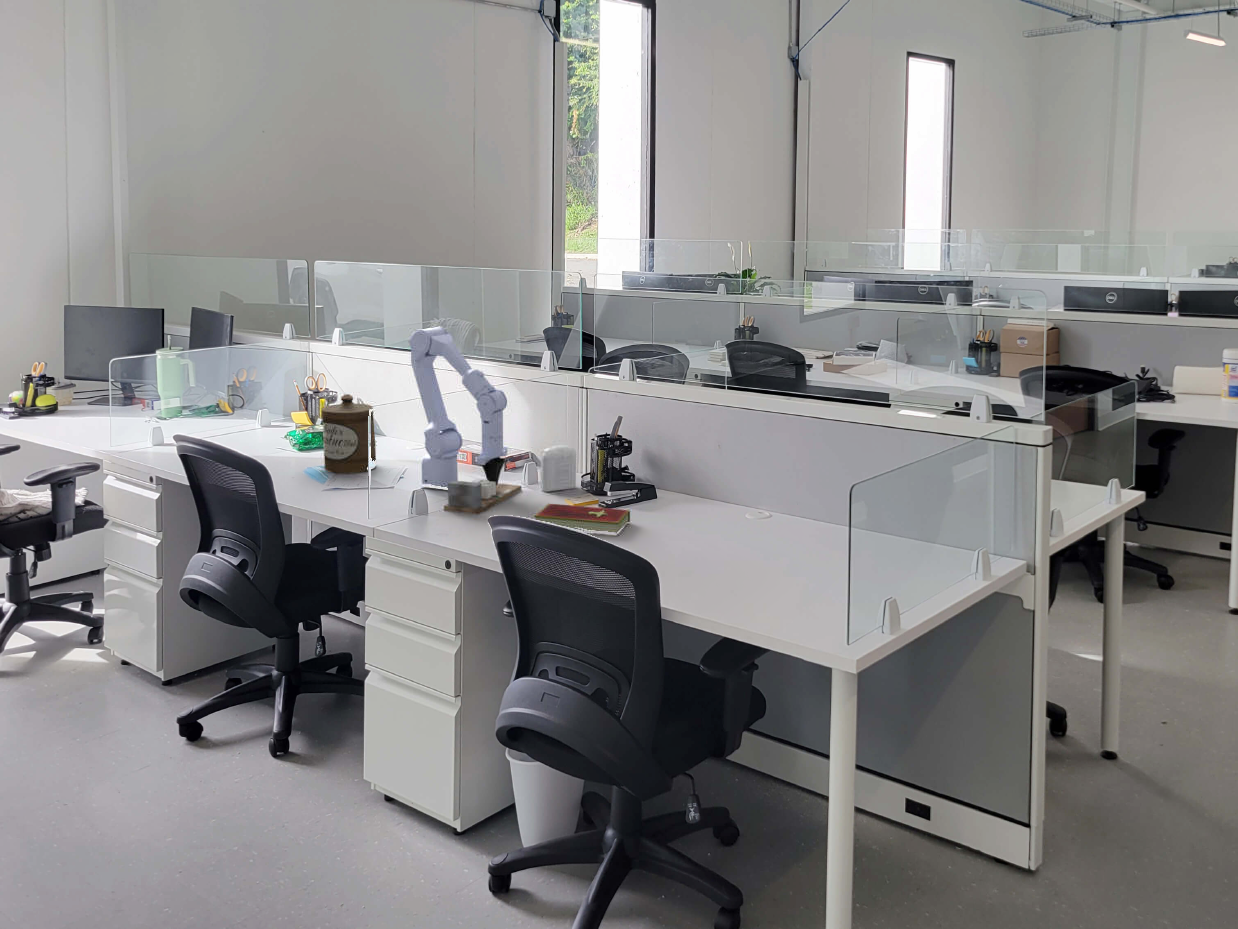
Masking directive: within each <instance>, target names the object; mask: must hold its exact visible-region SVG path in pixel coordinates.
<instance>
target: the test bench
mask: <svg viewBox="0 0 1238 929" xmlns="http://www.w3.org/2000/svg"><path fill="white" fill-rule="evenodd" d="M521 491H522V485H519V484H518V485H517V484H506V483H499V482H498V484H497V485H496V496H498V497H494V496H492V497H491V498H489V499H482V493H481V483H473V482H472V481H464V480H458V481H455V480H453V481H451V482H449V483H448V491H447V502H448V503H447V504H445V505H443V510H444V511H448V512H454V513H455V512H456V513H465V514H471V515H474V514H475V515H481V514H482V513H484V512H485V511H488V510H489V509H491V508H492V507H495V506H496V505H498V504H500V503H502V502H503V501H506V500H507V499H508V498H510V497H512V496H514V495H516V494H517V493H519V492H521Z"/></svg>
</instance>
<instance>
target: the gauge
mask: <svg viewBox="0 0 1238 929" xmlns="http://www.w3.org/2000/svg"><path fill="white" fill-rule="evenodd" d="M471 482H473V483H481V493H482V499H489V498H491V497H492V496H494V497H498V496H496V482H492V481H489V480H487V479H485V478H482V479H481V478H479V479H474V480H472V481H471Z"/></svg>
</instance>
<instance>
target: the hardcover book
mask: <svg viewBox="0 0 1238 929" xmlns="http://www.w3.org/2000/svg"><path fill="white" fill-rule="evenodd" d="M534 518H536V520H540V521H545V522H550V523H554V524H557V525H561V526H566V527H570V528H574V529H578V527H579V528H583V529H587V530H595V531H608V532H615V533H617V532H618V531H619V530H620V529H621V528H622V527H623V526H624V525H625V524H626V523H627V522H630V523H631V511H630V509H618V508H605V507H597V506H596V507H594V506H582V505H570V504H559V503H548V504H546V505H545V506H544V507H543V508H542V509H540V510H539V511H538V512H537V513H536V514H535V515H534ZM575 527H577V528H575ZM579 530H581V529H579ZM583 531H584V530H583Z"/></svg>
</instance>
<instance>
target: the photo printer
mask: <svg viewBox="0 0 1238 929" xmlns="http://www.w3.org/2000/svg"><path fill="white" fill-rule="evenodd" d="M576 473H577V452H576V449H575V447H572V446H570V445H565V444H558V445H554V446H550V447H548V448H544V449H543V450H542V451H541V453H540V489H541V491H542V492H545V493H547V492H548V493H549V492H554V491H562V490H570V489H575V488H576V487H577V485H576V484H577V483H576V482H577V480H576V479H577V474H576Z"/></svg>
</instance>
